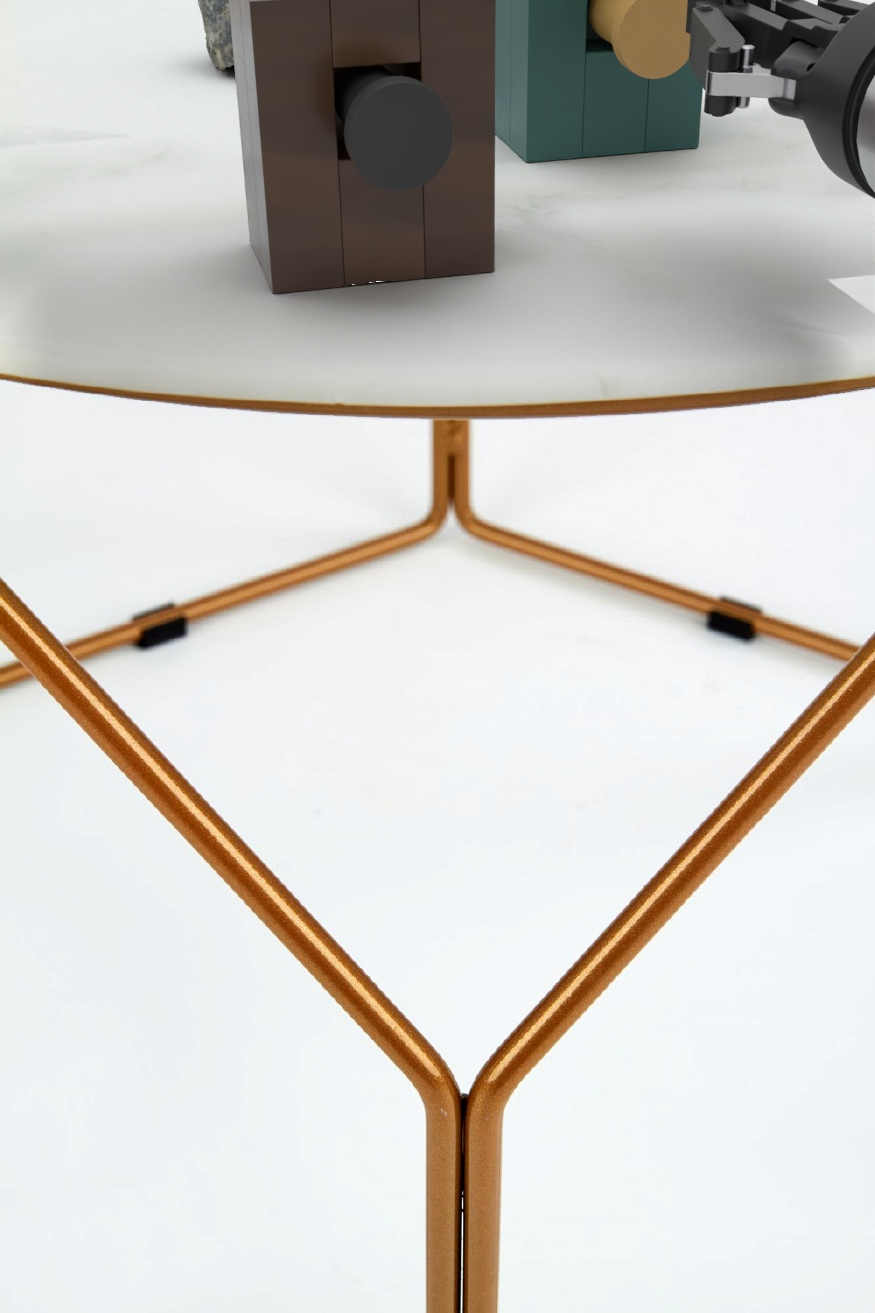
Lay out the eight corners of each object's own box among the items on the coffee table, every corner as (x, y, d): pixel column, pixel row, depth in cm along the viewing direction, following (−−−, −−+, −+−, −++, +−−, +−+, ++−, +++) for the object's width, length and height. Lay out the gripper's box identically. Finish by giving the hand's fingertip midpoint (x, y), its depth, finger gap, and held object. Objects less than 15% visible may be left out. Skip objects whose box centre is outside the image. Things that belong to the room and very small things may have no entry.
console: (490, 129, 96) (490, -96, 89) (652, 116, 98) (665, -105, 91) (526, 162, 90) (529, -78, 82) (698, 147, 92) (716, -88, 84)
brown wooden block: (249, 242, 78) (225, -30, 71) (454, 223, 80) (451, -43, 73) (272, 293, 72) (249, 1, 64) (494, 271, 74) (496, -15, 66)
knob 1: (322, 153, 71) (316, 50, 68) (416, 145, 72) (414, 43, 69) (351, 196, 65) (346, 85, 63) (454, 186, 66) (453, 77, 64)
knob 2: (575, 54, 88) (577, -31, 85) (649, 49, 89) (654, -36, 86) (616, 81, 82) (620, -9, 79) (695, 75, 83) (702, -14, 80)
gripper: (770, 228, 57) (575, 89, 76) (1074, 197, 60) (812, 70, 79) (792, 17, 53) (580, -73, 72) (1118, -7, 55) (829, -88, 75)
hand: (701, 2), depth 75 cm, fingers closed
